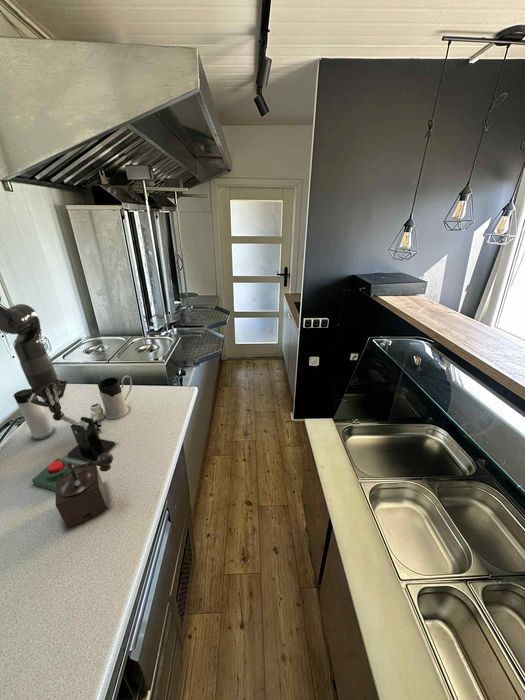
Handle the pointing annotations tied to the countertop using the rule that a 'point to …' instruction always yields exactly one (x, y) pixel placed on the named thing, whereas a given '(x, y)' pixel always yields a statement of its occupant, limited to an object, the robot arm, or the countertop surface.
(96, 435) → the bracket
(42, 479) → the button block
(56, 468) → the button
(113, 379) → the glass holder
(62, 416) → the lever
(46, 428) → the travel mug
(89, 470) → the brown coffee grinder
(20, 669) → the countertop surface
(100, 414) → the valve
